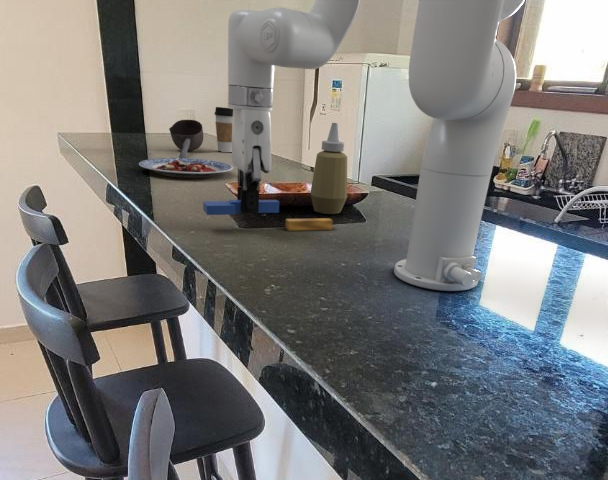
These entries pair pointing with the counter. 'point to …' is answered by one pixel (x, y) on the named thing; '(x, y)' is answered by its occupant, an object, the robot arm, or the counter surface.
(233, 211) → the blue l-shaped block
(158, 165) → the ceramic plate
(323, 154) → the squeeze bottle
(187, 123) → the ladle
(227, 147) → the coffee cup
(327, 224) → the fry
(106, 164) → the counter surface
